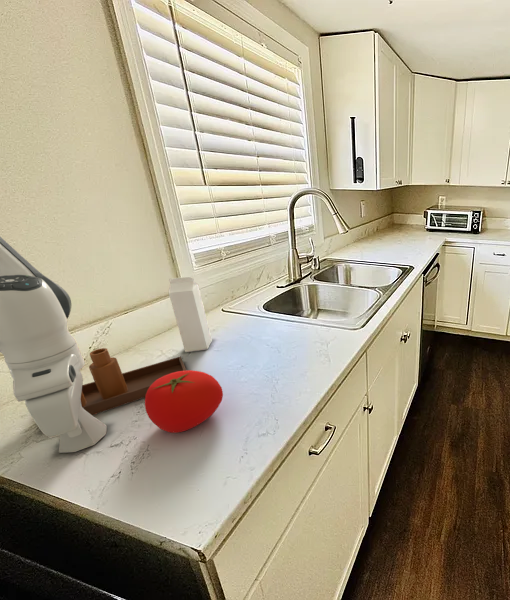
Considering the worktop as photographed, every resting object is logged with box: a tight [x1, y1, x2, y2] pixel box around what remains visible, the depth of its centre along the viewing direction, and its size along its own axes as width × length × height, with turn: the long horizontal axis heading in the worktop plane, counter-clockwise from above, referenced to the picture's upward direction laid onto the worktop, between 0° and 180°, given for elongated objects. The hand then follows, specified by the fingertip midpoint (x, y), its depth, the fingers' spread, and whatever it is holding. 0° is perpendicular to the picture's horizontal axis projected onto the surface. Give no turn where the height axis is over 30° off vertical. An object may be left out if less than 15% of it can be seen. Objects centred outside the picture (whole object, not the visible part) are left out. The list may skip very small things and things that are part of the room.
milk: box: [168, 276, 213, 353], centre depth 96 cm, size 6×6×22 cm
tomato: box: [144, 369, 224, 434], centre depth 67 cm, size 12×14×11 cm
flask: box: [58, 405, 108, 454], centre depth 63 cm, size 7×7×10 cm
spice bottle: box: [88, 347, 128, 400], centre depth 75 cm, size 5×5×12 cm
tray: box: [82, 355, 187, 416], centre depth 78 cm, size 26×11×2 cm, turn 130°
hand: (77, 425), depth 63 cm, fingers closed on flask, 5 cm apart
